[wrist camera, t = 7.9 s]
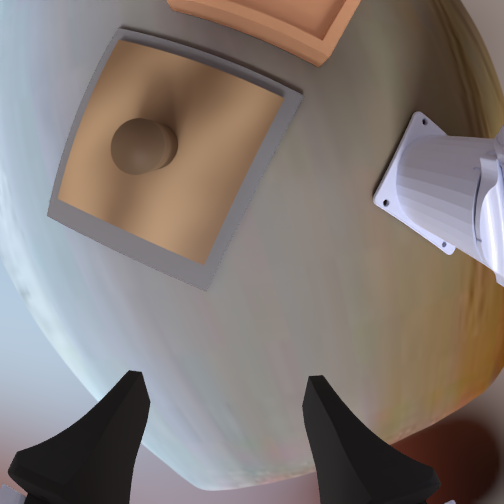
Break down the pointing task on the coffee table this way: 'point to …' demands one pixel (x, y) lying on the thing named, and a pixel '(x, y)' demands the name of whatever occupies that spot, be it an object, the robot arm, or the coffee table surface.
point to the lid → (166, 147)
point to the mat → (204, 273)
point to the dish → (280, 22)
